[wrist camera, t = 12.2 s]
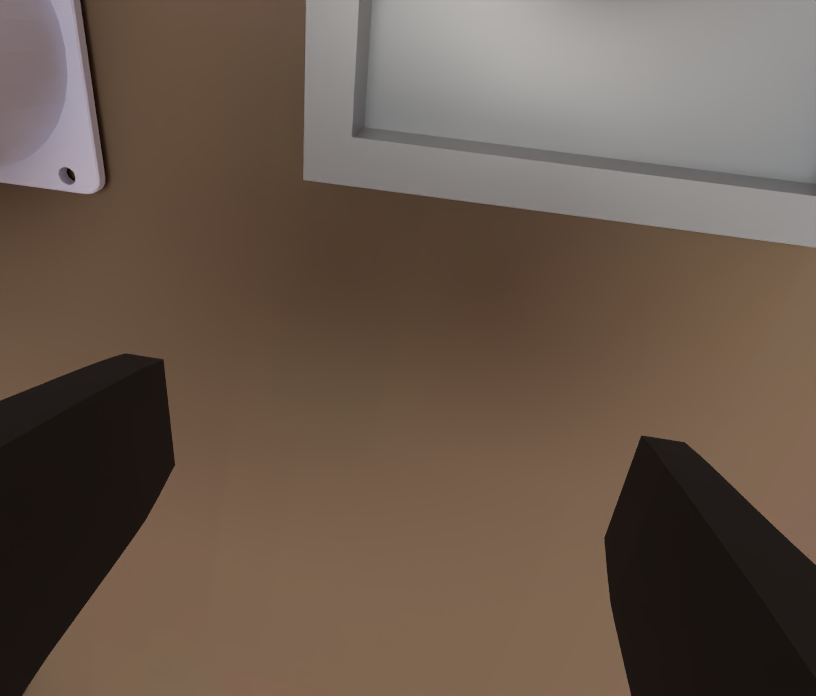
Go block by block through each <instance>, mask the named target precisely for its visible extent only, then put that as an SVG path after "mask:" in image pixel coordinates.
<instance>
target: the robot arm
mask: <svg viewBox="0 0 816 696" xmlns="http://www.w3.org/2000/svg"><path fill="white" fill-rule="evenodd" d="M67 168H69V169H71V170H72V171H73V172H74V175H75V177H76V178H75V181H73V180H71V179H70V178H69V177H68V174H67ZM0 183H8V184H15V185H22V186H30V187H37V188H44V189H52V190H59V191H67V192H74V193H81V194H93V193H95V192H98V191H99V190H101V189H102V188H103V187H104V185H105V172H104V165H103V158H102V151H101V144H100V137H99V130H98V123H97V116H96V109H95V102H94V95H93V88H92V81H91V74H90V67H89V60H88V53H87V46H86V39H85V32H84V25H83V18H82V11H81V4H80V0H0ZM174 466H175V461H174V452H173V442H172V433H171V424H170V415H169V406H168V397H167V388H166V379H165V370H164V361H163V359H157V358H151V357H144V356H138V355H132V354H122V355H119V356H115V357H112V358H109V359H106V360H103V361H100V362H97V363H95V364H92V365H89V366H87V367H84V368H81V369H79V370H76V371H74V372H71V373H69V374H66V375H63V376H61V377H58V378H56V379H53V380H51V381H48V382H46V383H43V384H41V385H38V386H36V387H33V388H31V389H28V390H26V391H23V392H21V393H18V394H16V395H13V396H11V397H8V398H6V399H3V400H1V401H0V696H22V695H23V693H24V691H25V690H26V688H27V687H28V685H29V684H30V682H31V681H32V679H33V678H34V676H35V675H36V673H37V672H38V670H39V669H40V667H41V666H42V664H43V663H44V661H45V660H46V658H47V657H48V655H49V654H50V652H51V651H52V650H53V648H54V647H55V645H56V644H57V643H58V641H59V640H60V639H61V637H62V636H63V634H64V633H65V632H66V630H67V629H68V628H69V626H70V625H71V623H72V622H73V621H74V619H75V618H76V616H77V615H78V614H79V612H80V611H81V610H82V608H83V607H84V605H85V604H86V603H87V601H88V600H89V599H90V597H91V596H92V594H93V593H94V592H95V590H96V589H97V588H98V586H99V585H100V583H101V582H102V581H103V579H104V578H105V577H106V575H107V574H108V572H109V571H110V570H111V568H112V567H113V565H114V564H115V563H116V561H117V560H118V558H119V557H120V556H121V554H122V553H123V551H124V550H125V549H126V547H127V546H128V544H129V543H130V542H131V540H132V539H133V537H134V536H135V535H136V533H137V532H138V530H139V529H140V527H141V526H142V524H143V523H144V522H145V520H146V518H147V516H148V515H149V513H150V511H151V509H152V507H153V506H154V504H155V502H156V500H157V498H158V497H159V495H160V493H161V491H162V489H163V487H164V485H165V483H166V481H167V479H168V477H169V475H170V473H171V471H172V469H173V467H174ZM604 539H605V551H606V563H607V574H608V584H609V593H610V602H611V607H612V612H613V617H614V621H615V626H616V630H617V635H618V639H619V644H620V648H621V653H622V657H623V661H624V666H625V670H626V674H627V679H628V683H629V687H630V692H631V696H816V565H815V564H814V563H813V562H812V561H811V560H810V559H808V558H807V557H806V556H805V555H804V554H803V553H802V552H801V551H800V550H799V549H798V548H797V547H795V546H794V545H793V544H792V543H791V542H790V541H789V540H788V539H787V538H786V537H785V536H784V535H783V534H782V533H781V532H780V531H778V530H777V529H776V528H775V527H774V526H773V525H772V524H771V523H770V522H769V521H768V520H767V519H766V518H765V517H764V516H763V515H762V514H761V513H760V512H759V511H757V510H756V509H755V508H754V507H753V506H752V505H751V504H750V503H749V502H748V501H747V500H746V499H745V498H744V497H743V496H742V495H741V494H740V493H739V492H738V491H737V490H736V489H735V488H734V487H733V486H732V485H731V484H730V483H728V482H727V481H726V480H725V479H724V478H723V477H722V476H721V475H720V474H719V473H718V472H717V471H716V470H715V469H714V468H713V467H712V466H711V465H710V464H709V463H707V462H706V461H705V460H704V459H703V458H702V457H701V456H700V455H699V454H698V453H696V452H695V451H694V450H693V449H692V448H691V447H689V446H688V445H687V444H686V443H685V442H679V441H672V440H666V439H660V438H654V437H647V436H641V438H640V441H639V444H638V447H637V449H636V452H635V455H634V458H633V460H632V463H631V466H630V469H629V471H628V474H627V477H626V480H625V483H624V485H623V488H622V491H621V494H620V496H619V499H618V502H617V505H616V507H615V510H614V513H613V516H612V519H611V521H610V524H609V527H608V530H607V532H606V535H605V538H604Z"/></svg>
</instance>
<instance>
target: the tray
mask: <svg viewBox="0 0 816 696" xmlns="http://www.w3.org/2000/svg"><path fill="white" fill-rule="evenodd" d="M303 180H308V181H315V182H323V183H330V184H338V185H345V186H353V187H361V188H368V189H376V190H383V191H391V192H399V193H406V194H414V195H421V196H429V197H437V198H444V199H452V200H459V201H467V202H474V203H482V204H490V205H497V206H505V207H512V208H520V209H528V210H535V211H543V212H550V213H558V214H565V215H573V216H581V217H588V218H596V219H603V220H611V221H619V222H626V223H634V224H641V225H649V226H657V227H664V228H672V229H679V230H687V231H694V232H702V233H710V234H717V235H725V236H732V237H740V238H748V239H755V240H763V241H770V242H778V243H785V244H793V245H801V246H808V247H816V0H306V42H305V103H304V165H303Z"/></svg>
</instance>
